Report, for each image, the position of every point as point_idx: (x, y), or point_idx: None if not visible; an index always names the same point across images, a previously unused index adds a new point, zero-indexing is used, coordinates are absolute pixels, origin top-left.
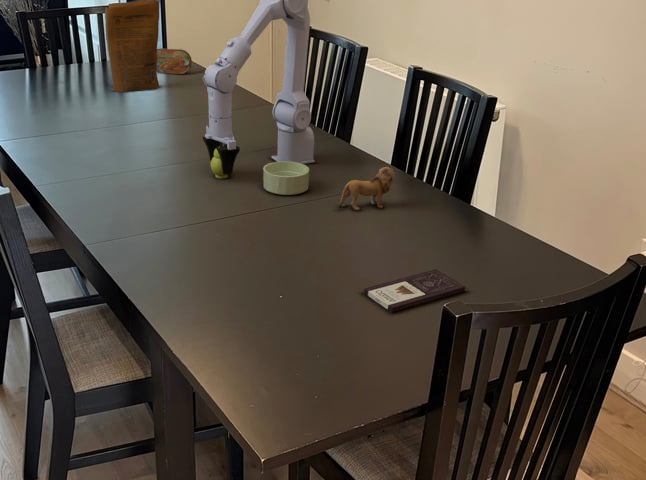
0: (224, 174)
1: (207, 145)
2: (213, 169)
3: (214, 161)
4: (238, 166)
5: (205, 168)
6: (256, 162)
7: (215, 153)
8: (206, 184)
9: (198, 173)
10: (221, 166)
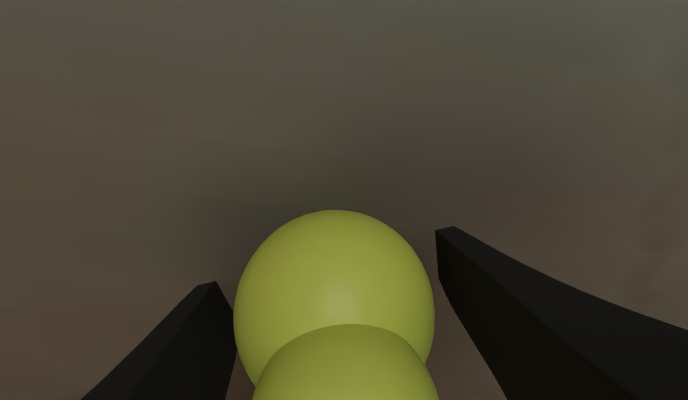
0: (195, 288)
1: (614, 372)
2: (281, 229)
3: (281, 293)
4: (467, 333)
5: (515, 166)
6: (485, 393)
7: (299, 396)
8: (162, 119)
9: (433, 95)
10: (233, 315)
